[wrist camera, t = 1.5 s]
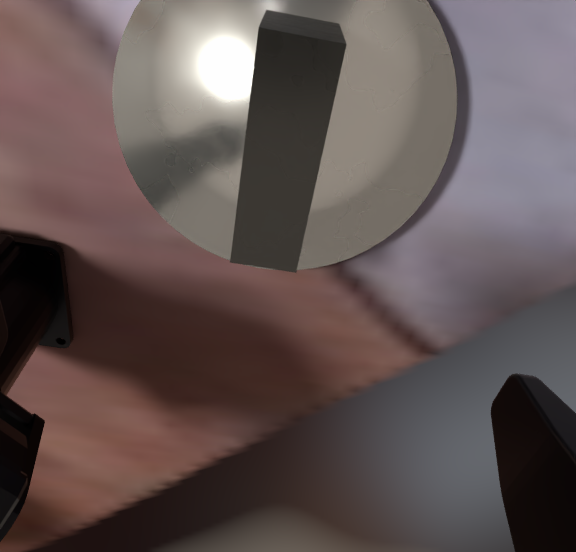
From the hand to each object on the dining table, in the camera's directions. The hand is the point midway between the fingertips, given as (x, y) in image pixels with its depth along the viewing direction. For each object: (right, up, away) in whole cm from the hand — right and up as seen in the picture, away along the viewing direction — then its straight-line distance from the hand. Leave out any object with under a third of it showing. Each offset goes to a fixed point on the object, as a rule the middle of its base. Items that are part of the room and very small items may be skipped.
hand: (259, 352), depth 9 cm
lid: (0, +8, +11) cm, 14 cm away
